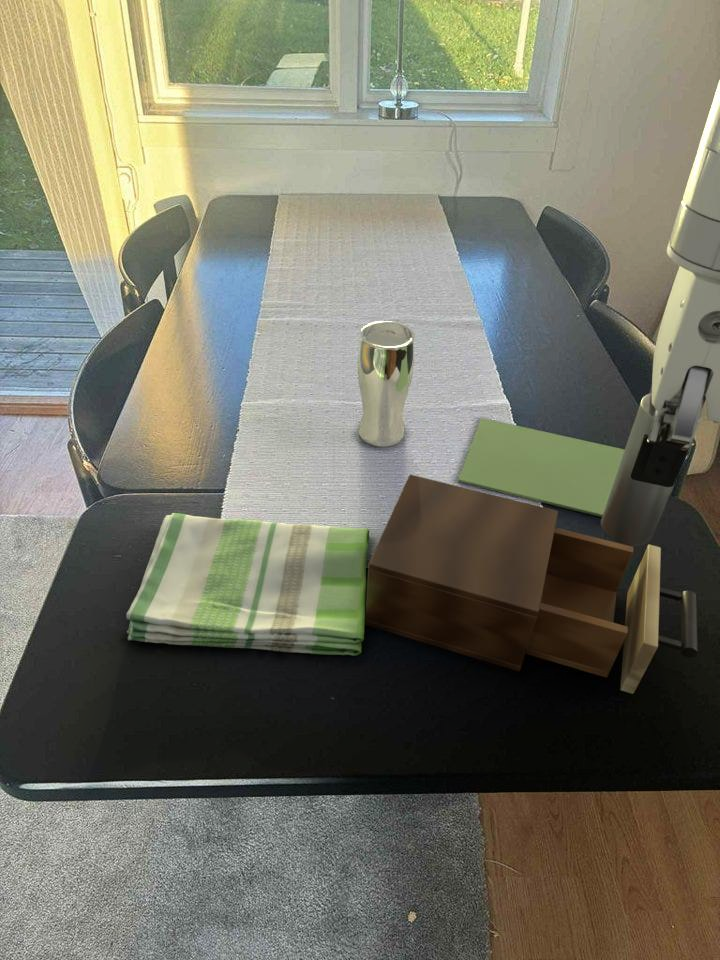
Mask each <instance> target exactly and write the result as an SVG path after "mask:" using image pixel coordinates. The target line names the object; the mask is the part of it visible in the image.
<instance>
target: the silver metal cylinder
mask: <svg viewBox="0 0 720 960" xmlns="http://www.w3.org/2000/svg"><path fill="white" fill-rule="evenodd" d="M678 401H679V399H678V398H672V399H671V400H670V401H669V402H674V403H678ZM655 412H656V409H655V408H654V406H653V405H652V393H650V392H649V393H648V394H645V395H644V396H643V397H642V398H641V401H640V404H639V407H638V409H637V412H636V416H635V419H634V421H633V424H632V427H631V431H630V432H629V433H630V434H629V436H628V440H627V442H626V445H625V448H624V450H625V451H624V454H623V457H622V460H621V463H620V466H619V469H618V472H617V474H616V477H615V480H614V483H613V486H612V489H611V492H610V495H609V498H608V501H607V504H606V507H605V510H604V513H603V516H602V517H601V519H600V526H601V529H602V531H603V533H604V534H605V535H606V536H607V537H608V538H610V539H611V540H613V542H615V543H619V544H623V545H627V546H631V547H639V546H643V545H646V544H648V543H649V542H650V541H651V540H652V539H653V537H654V534H655V532H656V529H657V527H658V525H659V522H660V520H661V517H662V515H663V512H664V510H665V509H666V505H667V503H668V501H669V498H670V496H671V493H672V491H673V489H674V486H675V484H674V485H673V486H672V487H664V486H659V485H655V484H650V483H646V482H641V481H636V480H633V479H632V478H631V470H632V467H633V464H634V461H635V458H636V456H637V453H638V450H639V447H640V444H641V442H642V439H643V436H644V434H646V435H649V432H650V428H651V425H652V422H653V419H654V416H655ZM674 416H675V415H669V414H665V417H664V420H663V423H662V426H663V425H664V424H672V422H673V420H674ZM702 417H703V410H702V411H701V414H700V417H699V420H698V423H697V426H696V429H695V432H694V434H693V437H692V440H691V443H690V446H689V448H690V447H691V444H692V442H693V440H694V437H695V435H696V432H697V430H698V428H699V426H700V423H701V420H702ZM662 426H661V427H662Z"/></svg>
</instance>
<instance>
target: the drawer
mask: <svg viewBox="0 0 720 960" xmlns="http://www.w3.org/2000/svg"><path fill="white" fill-rule="evenodd" d="M633 554H634V546H629V545H624V544H621V543H618V542H616V541H611V540H607V539H602V538H599V537H595V536H591V535H588V534H583V533H580V532H579V533H578V532H575V531H571V530H568V529H563V528H560V527H556V526H555V530H554V535H553V541H552V546H551V551H550V556H549V561H548V566H547V571H546V577H545V582H544V587H543V592H542V597H541V602H540V607H539V612H538V615H537V618H536V622H535V625H534V628H533V631H532V634H531V637H530V641H529V644H528V647H527V650H526V653H525V655H529V656H532V657H535V658H538V659H542V660H545V661H549V662H551V663H556V664H559V665H562V666H566V667H569V668H572V669H576V670H579V671H583V672H586V673H590V674H592V675H596V676H599V677H602V678H606V679H607V678H608V676H609V675H610V674H609V673H610V672H611V670H612V668H613V665H614V663H615V661H616V659H617V657H618V655H619V652H620V651H621V648H623V649H622V660H621V661H622V662H621V675H620V686H619V688H620V691H621V692H625V693H629V694H631V695H632V694H634V693H635V692H636V690H637V688H638V686H639V684H640V682H641V681H642V678H643V676H644V675H645V672H646V671H647V669H648V667H649V665H650V663H651V662H652V659H653V657H654V655H655V653H656V652H657V650H658V648H659V646H663V647H667V648H670V649H673V650H677V651H680V654H681V655H682V656H683V657H685V658H689V659H690V658H691V659H692V658H695V657H697V656H698V654H699V643H698V642H699V641H698V640H699V639H698V638H699V637H698V603H697V602H698V597H697V596H698V595H697V593H696V592H694V591H692V590H687V589H686V590H683V591H682V592H679V591H676V590H671V589H667V588H664V587H661V560H662V559H661V558H662V557H661V555H662V548H661V547H660V546H657V545H652V544H647V546H646V549H645V551H644V554H643V556H642V558H641V560H640V563H639V565H638V567H637V570H636V572H635V574H634V576H633V579H632V581H631V583H630V585H629V588H628V590H627V593H626V594H627V595H626V607H625V618H624V619H625V621H624V625H622V624H619V623H616V622H615V621H614V620H615V612H616V601H617V592H618V589H619V588H620V585H621V582H622V580H623V578H624V575H625V573H626V570H627V568H628V566H629V563H630V561H631V558H632V556H633ZM660 597H664V598H667V599H671V600H674V601H678V602H680V604H679V605H680V607H679V608H680V610H679V611H680V615H679V616H680V620H679V621H680V640H677V639H674V638H670V637H666V636H662V635H659V627H660V626H659V625H660V624H659V621H660ZM622 646H623V647H622Z"/></svg>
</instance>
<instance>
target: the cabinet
mask: <svg viewBox="0 0 720 960" xmlns="http://www.w3.org/2000/svg"><path fill="white" fill-rule="evenodd" d="M405 481H406V482H405V484H404V486H403V488H402V490H401V492H400V495H399V496H398V498H397V501H396V503H395V505H394V508H393V510H392V511H391V514H390V516H389V518H388V521H387V523H386V525H385V527H384V529H383V532H382V533H381V536H380V538H379V540H378V542H377V544H376V547H375V549H374V550H373V554H372V555H371V558H370V560H369V562H368V567H367V568H368V569H367V582H366V599H365V626H367V627H370V628H373V629H377V630H381V631H384V632H386V633H391V634H395V635H398V636H400V637H404V638H408V639H411V640H414V641H417V642H420V643H423V644H427V645H430V646H434V647H437V648H440V649H443V650H446V651H451V652H453V653H457V654H460V655H463V656H467V657H469V658H474V659H477V660H480V661H483V662H486V663H489V664H493V665H496V666H500V667H503V668H506V669H509V670H513V671H516V672H521V670H522V666H523V662H524V660H525V656H526V654H525V653H526V650H527V647H528V644H529V641H530V637H531V634H532V631H533V628H534V625H535V622H536V618H537V615H538V612H539V607H540V602H541V597H542V592H543V587H544V582H545V577H546V571H547V566H548V561H549V556H550V551H551V546H552V541H553V535H554V530H555V527H556V525H557V519H558V514H559V510H556V509H552V508H548V507H544V506H540V505H537V504H536V505H535V504H532V503H528V502H523V501H520V500H515V499H511V498H508V497H503V496H499V495H496V494H491V493H487V492H483V491H479V490H475V489H471V488H466V487H463V486H459V485H456V484H455V485H454V484H451V483H446V482H442V481H438V480H435V479H431V478H427V477H422V476H418V475H414V474H409V475H408V477H407V479H406V480H405Z"/></svg>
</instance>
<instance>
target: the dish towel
mask: <svg viewBox="0 0 720 960" xmlns="http://www.w3.org/2000/svg"><path fill="white" fill-rule="evenodd" d="M370 532H371V531H370V529H368V528H364V527H361V528H355V527H353V528H352V527H343V526H342V527H341V526H329V525H327V526H326V525H315V524H306V523H281V522H270V521H269V522H268V521H262V520H251V519H238V518H237V519H236V518H235V519H228V518H215V517H214V518H213V517H208V516H207V517H206V516H196V515H191V514H185V513H180V512H172V513H171V514H166V515H165V516H164V518H163V520H162V523H161V525H160V529H159V532H158V534H157V537H156V539H155V542H154V546H153V548H152V552H151V555H150V557H149V560H148V563H147V565H146V569H145V571H144V575H143V577H142V581H141V584H140V587H139V589H138V591H137V593H136V595H135V597H134V599H133V601H132V602H131V604H130V607H129V609H128V611H127V612H126V614H125V615H126V619H127V620H128V621H130V622H129V625H128V630H127V631H126V633H127V635H128V636H127V640H128V641H136V642H144V643H154V644H167V645H175V646H193V647H194V646H195V647H196V646H197V647H198V646H199V647H211V648H226V649H228V648H229V649H237V648H238V649H254V650H265V651H272V652H282V653H299V654H312V655H325V656H326V655H329V656H333V655H334V656H338V655H339V656H352V657H354V656H355V657H356V656H358V655H360V654H361V653H362V642H363V641H364V640H365V626H366V625H365V618H366V594H367V562H368V551H369V547H368V546H369V542H370Z"/></svg>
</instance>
